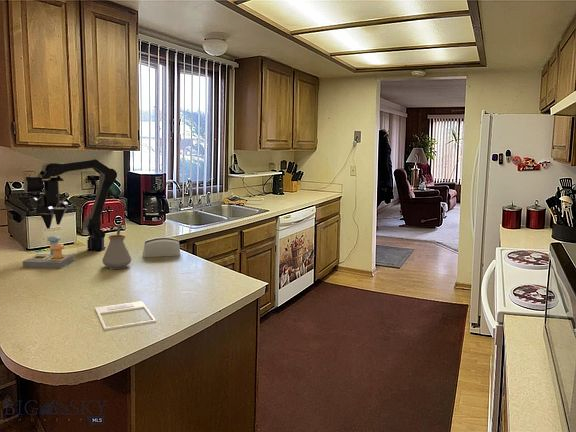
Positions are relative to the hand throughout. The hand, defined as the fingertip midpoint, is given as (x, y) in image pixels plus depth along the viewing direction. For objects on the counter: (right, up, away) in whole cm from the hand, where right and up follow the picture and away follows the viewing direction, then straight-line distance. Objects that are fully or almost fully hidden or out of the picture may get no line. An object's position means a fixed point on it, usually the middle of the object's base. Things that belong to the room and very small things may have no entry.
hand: (53, 226), depth 207 cm
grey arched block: (+46, -14, +9) cm, 49 cm away
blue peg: (-1, -13, +2) cm, 13 cm away
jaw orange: (+8, -16, -12) cm, 21 cm away
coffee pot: (+31, -16, -7) cm, 36 cm away
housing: (+4, -15, -12) cm, 20 cm away
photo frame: (+54, -27, -63) cm, 87 cm away
